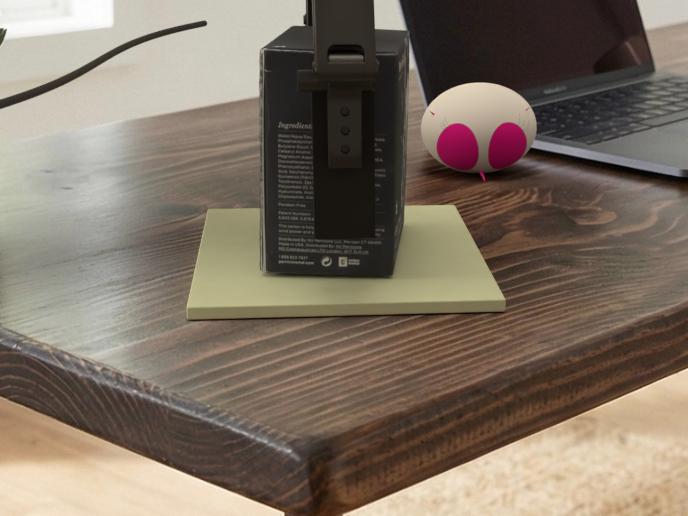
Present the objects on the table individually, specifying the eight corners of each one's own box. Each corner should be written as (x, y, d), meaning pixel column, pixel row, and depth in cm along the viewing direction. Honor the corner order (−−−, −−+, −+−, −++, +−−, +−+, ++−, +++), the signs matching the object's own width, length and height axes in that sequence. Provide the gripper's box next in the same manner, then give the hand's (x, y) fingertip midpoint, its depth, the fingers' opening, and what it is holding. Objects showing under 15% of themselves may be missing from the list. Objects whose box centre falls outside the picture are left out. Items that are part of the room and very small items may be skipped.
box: (399, 280, 60) (400, 50, 57) (258, 277, 60) (249, 48, 57) (410, 223, 70) (411, 25, 67) (288, 221, 70) (283, 23, 67)
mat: (208, 219, 73) (207, 208, 73) (454, 214, 75) (454, 204, 74) (186, 320, 56) (186, 307, 56) (505, 312, 58) (506, 299, 58)
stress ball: (425, 226, 85) (424, 155, 80) (419, 138, 90) (418, 65, 84) (540, 221, 85) (547, 150, 80) (528, 134, 90) (534, 61, 84)
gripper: (450, -305, 46) (442, 270, 53) (393, -244, 69) (392, 151, 77) (236, -311, 45) (258, 274, 52) (251, -247, 69) (264, 152, 76)
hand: (338, 202), depth 65 cm, fingers open, 13 cm apart
